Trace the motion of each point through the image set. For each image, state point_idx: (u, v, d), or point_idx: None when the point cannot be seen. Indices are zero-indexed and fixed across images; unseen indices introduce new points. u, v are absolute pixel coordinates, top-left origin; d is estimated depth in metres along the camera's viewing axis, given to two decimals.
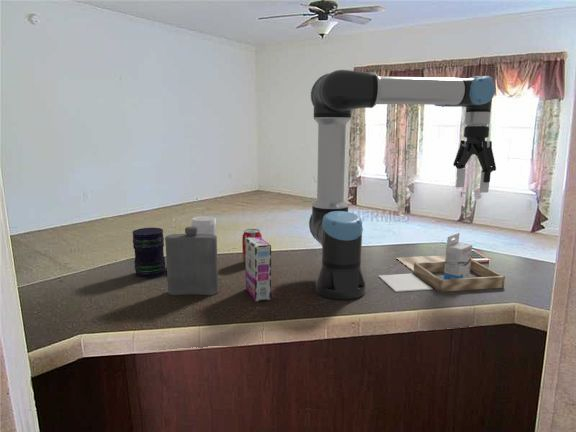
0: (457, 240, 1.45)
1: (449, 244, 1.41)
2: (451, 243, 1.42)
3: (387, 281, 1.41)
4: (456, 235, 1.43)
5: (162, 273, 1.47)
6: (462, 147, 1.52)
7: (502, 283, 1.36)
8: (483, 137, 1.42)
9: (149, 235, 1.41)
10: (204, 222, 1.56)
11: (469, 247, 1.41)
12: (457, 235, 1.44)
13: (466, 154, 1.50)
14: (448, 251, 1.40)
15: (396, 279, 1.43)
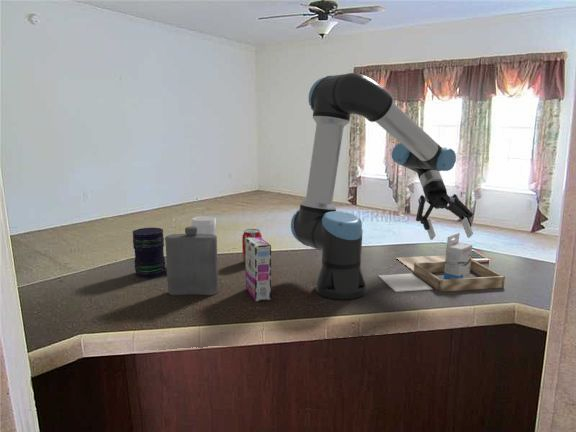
0: (457, 240, 1.45)
1: (449, 244, 1.41)
2: (451, 243, 1.42)
3: (387, 281, 1.41)
4: (456, 235, 1.43)
5: (162, 273, 1.47)
6: None
7: (502, 283, 1.36)
8: None
9: (149, 235, 1.41)
10: (204, 222, 1.56)
11: (469, 247, 1.41)
12: (457, 235, 1.44)
13: (433, 206, 1.52)
14: (448, 251, 1.40)
15: (396, 279, 1.43)
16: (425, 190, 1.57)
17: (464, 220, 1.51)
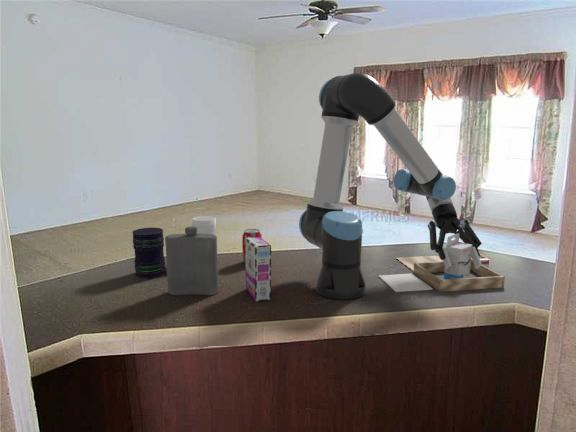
0: (457, 240, 1.45)
1: (449, 244, 1.41)
2: (451, 243, 1.42)
3: (387, 281, 1.41)
4: (456, 235, 1.43)
5: (162, 273, 1.47)
6: None
7: (502, 283, 1.36)
8: None
9: (149, 235, 1.41)
10: (204, 222, 1.56)
11: (469, 247, 1.41)
12: (457, 235, 1.44)
13: None
14: (448, 251, 1.40)
15: (396, 279, 1.43)
16: (434, 213, 1.49)
17: (472, 249, 1.42)
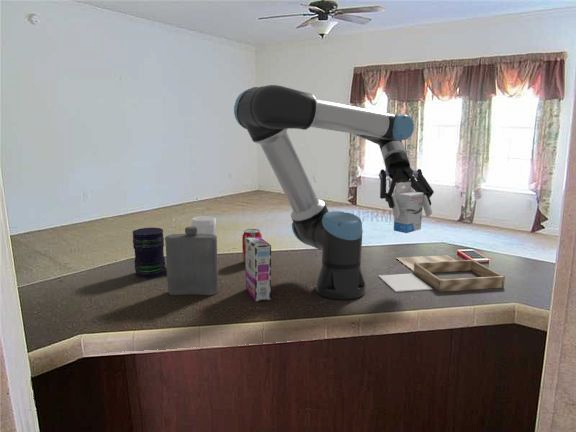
0: (408, 189, 1.38)
1: (399, 192, 1.35)
2: (401, 191, 1.36)
3: (387, 281, 1.41)
4: (407, 183, 1.37)
5: (162, 273, 1.47)
6: None
7: (502, 283, 1.36)
8: None
9: (149, 235, 1.41)
10: (204, 222, 1.56)
11: (420, 195, 1.34)
12: (408, 183, 1.37)
13: (396, 180, 1.38)
14: (397, 198, 1.33)
15: (396, 279, 1.43)
16: (386, 163, 1.43)
17: (423, 198, 1.36)
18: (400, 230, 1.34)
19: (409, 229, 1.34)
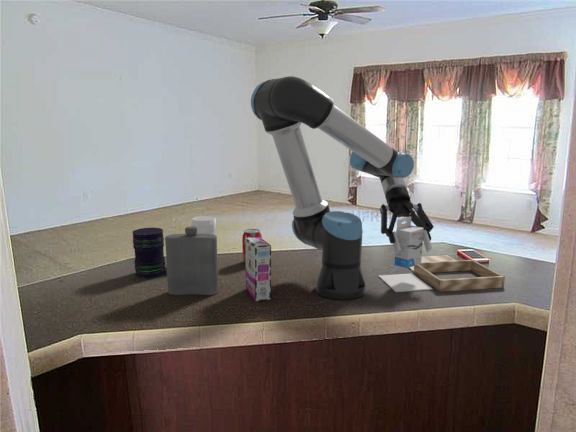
0: (409, 223, 1.41)
1: (399, 227, 1.38)
2: (402, 226, 1.38)
3: (387, 281, 1.41)
4: (407, 218, 1.40)
5: (162, 273, 1.47)
6: None
7: (502, 283, 1.36)
8: None
9: (149, 235, 1.41)
10: (204, 222, 1.56)
11: (420, 230, 1.37)
12: (408, 218, 1.40)
13: (397, 215, 1.41)
14: (398, 234, 1.36)
15: (396, 279, 1.43)
16: (387, 197, 1.45)
17: (423, 233, 1.39)
18: (401, 265, 1.37)
19: (410, 264, 1.36)
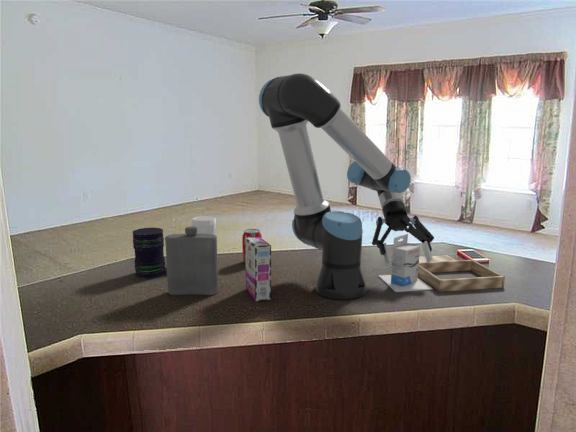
0: (405, 241, 1.42)
1: (396, 245, 1.38)
2: (398, 244, 1.39)
3: (387, 281, 1.41)
4: (404, 236, 1.40)
5: (162, 273, 1.47)
6: (381, 223, 1.42)
7: (502, 283, 1.36)
8: None
9: (149, 235, 1.41)
10: (204, 222, 1.56)
11: (416, 248, 1.38)
12: (405, 236, 1.41)
13: (391, 229, 1.41)
14: (394, 252, 1.37)
15: None
16: (384, 211, 1.46)
17: (424, 244, 1.40)
18: (397, 283, 1.38)
19: (406, 282, 1.37)
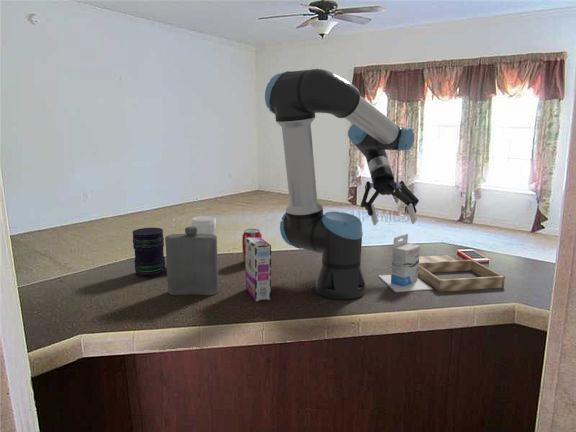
0: (405, 241, 1.42)
1: (396, 245, 1.38)
2: (398, 244, 1.39)
3: (387, 281, 1.41)
4: (404, 236, 1.40)
5: (162, 273, 1.47)
6: (369, 187, 1.52)
7: (502, 283, 1.36)
8: None
9: (149, 235, 1.41)
10: (204, 222, 1.56)
11: (416, 248, 1.38)
12: (405, 236, 1.41)
13: (379, 192, 1.51)
14: (394, 252, 1.37)
15: None
16: (372, 176, 1.56)
17: (409, 206, 1.50)
18: (397, 283, 1.38)
19: (406, 282, 1.37)
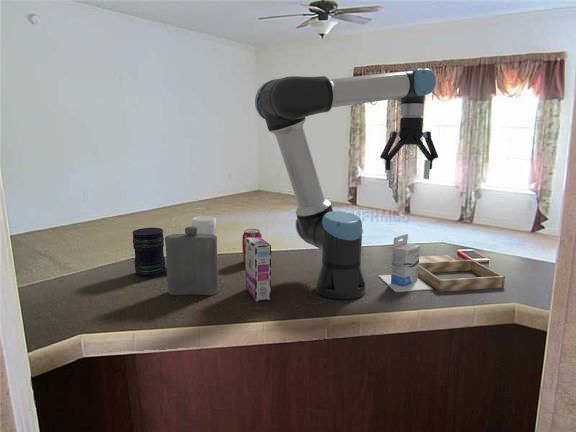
0: (405, 241, 1.42)
1: (396, 245, 1.38)
2: (398, 244, 1.39)
3: (387, 281, 1.41)
4: (404, 236, 1.40)
5: (162, 273, 1.47)
6: None
7: (502, 283, 1.36)
8: None
9: (149, 235, 1.41)
10: (204, 222, 1.56)
11: (416, 248, 1.38)
12: (405, 236, 1.41)
13: None
14: (394, 252, 1.37)
15: None
16: (401, 123, 1.49)
17: (427, 162, 1.53)
18: (397, 283, 1.38)
19: (406, 282, 1.37)
